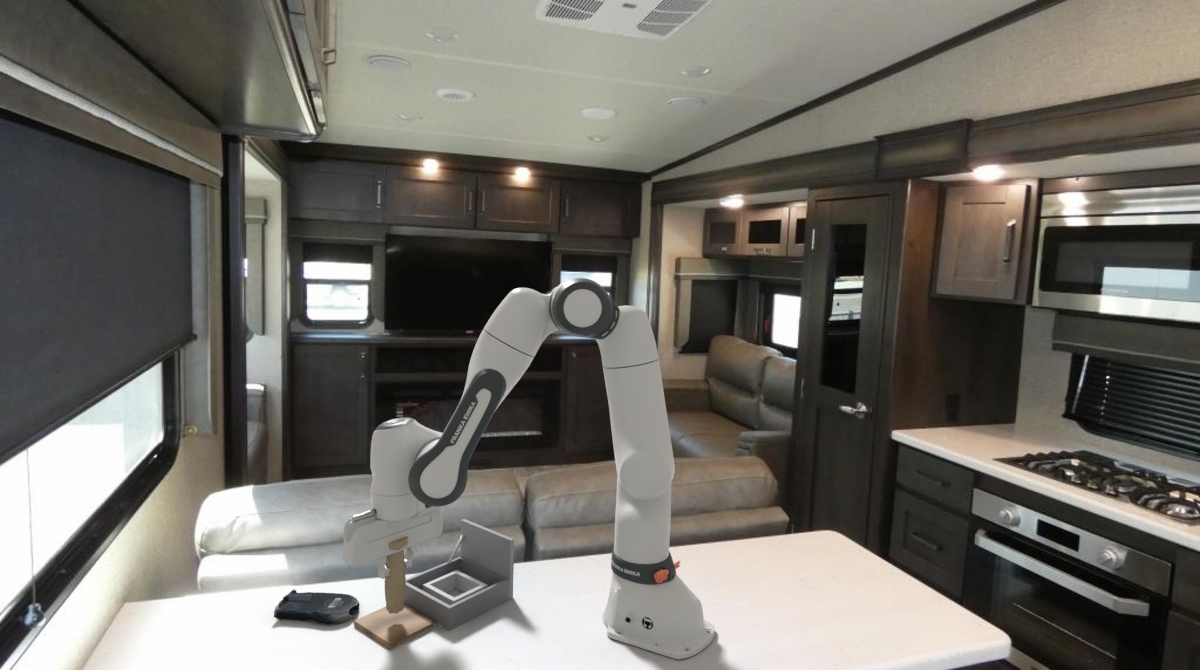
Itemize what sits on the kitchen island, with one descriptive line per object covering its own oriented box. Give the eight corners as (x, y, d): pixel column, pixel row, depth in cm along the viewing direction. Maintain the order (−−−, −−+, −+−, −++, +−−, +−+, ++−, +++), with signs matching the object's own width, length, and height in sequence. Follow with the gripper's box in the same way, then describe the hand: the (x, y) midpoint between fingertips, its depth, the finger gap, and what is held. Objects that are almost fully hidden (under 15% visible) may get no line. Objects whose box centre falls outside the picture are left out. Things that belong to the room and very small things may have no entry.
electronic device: (272, 633, 127) (348, 626, 127) (269, 604, 128) (345, 597, 127) (296, 614, 137) (367, 607, 136) (293, 587, 137) (364, 580, 136)
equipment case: (512, 597, 141) (514, 539, 139) (449, 630, 127) (449, 566, 126) (463, 573, 150) (464, 518, 149) (399, 602, 137) (399, 542, 136)
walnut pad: (435, 626, 128) (435, 622, 128) (390, 649, 121) (390, 644, 120) (398, 605, 136) (398, 600, 136) (354, 625, 128) (354, 620, 128)
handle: (377, 619, 125) (377, 542, 123) (387, 601, 131) (387, 529, 129) (403, 619, 125) (403, 543, 123) (411, 601, 131) (412, 529, 130)
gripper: (354, 523, 115) (355, 598, 117) (448, 493, 131) (447, 559, 133) (335, 513, 119) (335, 586, 121) (428, 486, 135) (428, 550, 137)
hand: (395, 572), depth 127 cm, fingers closed on handle, 3 cm apart
